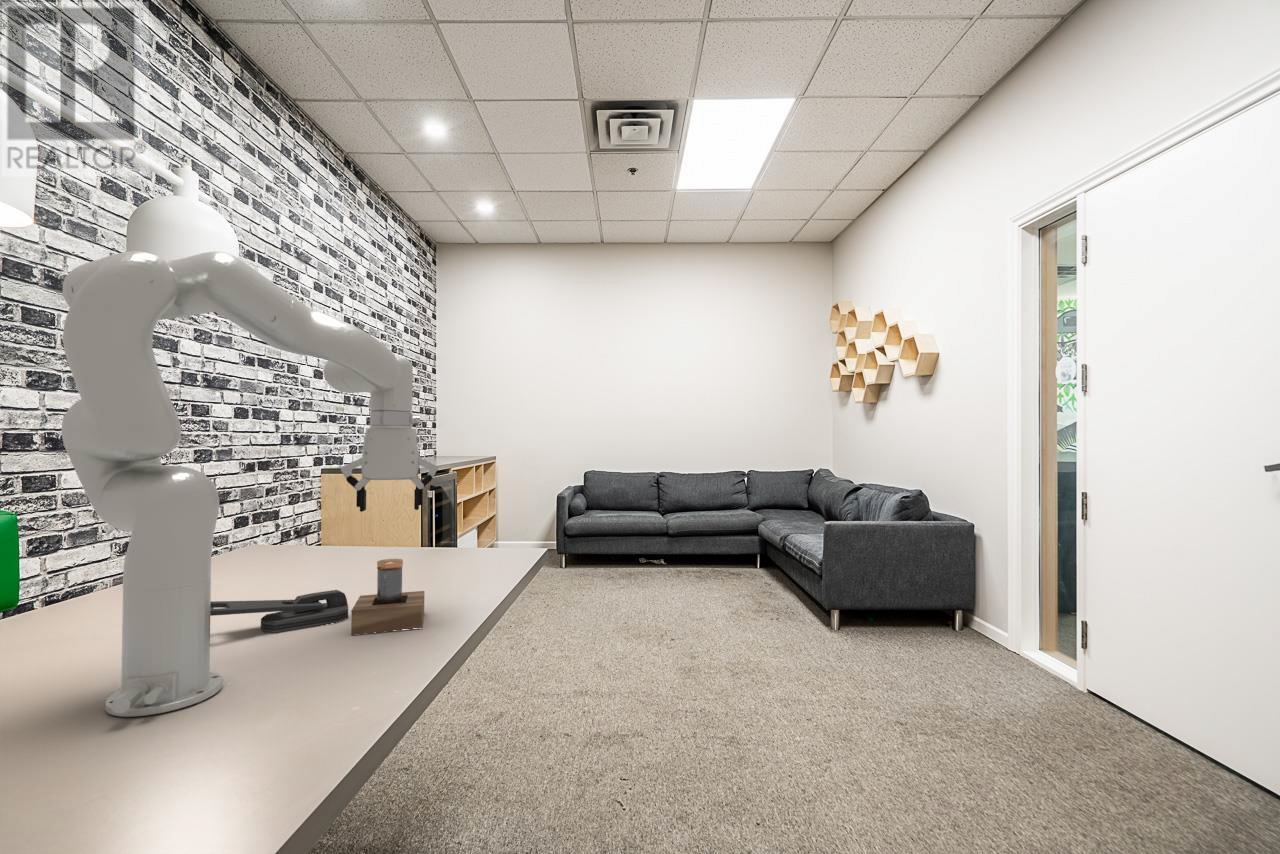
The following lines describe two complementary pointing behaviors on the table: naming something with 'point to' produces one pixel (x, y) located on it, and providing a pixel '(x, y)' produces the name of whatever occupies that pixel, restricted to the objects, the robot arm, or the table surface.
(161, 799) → the table surface
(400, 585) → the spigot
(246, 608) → the zipper pull
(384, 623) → the socket block
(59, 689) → the table surface
